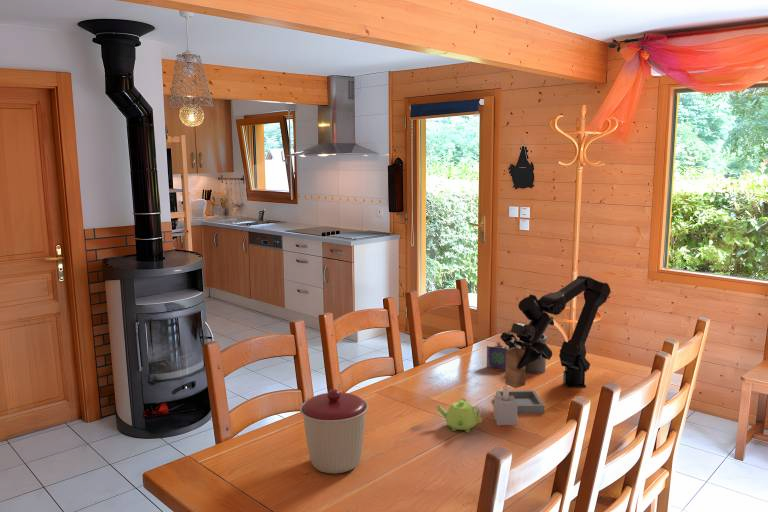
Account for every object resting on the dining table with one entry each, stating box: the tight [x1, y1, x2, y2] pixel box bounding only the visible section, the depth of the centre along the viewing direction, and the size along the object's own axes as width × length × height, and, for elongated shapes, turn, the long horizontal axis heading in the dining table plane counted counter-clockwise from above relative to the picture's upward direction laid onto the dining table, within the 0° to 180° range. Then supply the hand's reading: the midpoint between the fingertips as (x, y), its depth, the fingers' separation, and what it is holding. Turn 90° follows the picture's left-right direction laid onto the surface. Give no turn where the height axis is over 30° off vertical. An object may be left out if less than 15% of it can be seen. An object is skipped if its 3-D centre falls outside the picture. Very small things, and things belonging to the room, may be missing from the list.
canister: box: [299, 388, 369, 475], centre depth 164 cm, size 18×18×21 cm
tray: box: [495, 389, 545, 415], centre depth 202 cm, size 13×13×3 cm
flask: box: [486, 341, 509, 371], centre depth 238 cm, size 9×3×11 cm, turn 65°
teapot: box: [436, 398, 483, 433], centre depth 186 cm, size 11×12×8 cm
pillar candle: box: [520, 333, 548, 375], centre depth 236 cm, size 10×10×15 cm
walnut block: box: [505, 347, 526, 389], centre depth 202 cm, size 4×4×12 cm
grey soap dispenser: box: [493, 385, 518, 426], centre depth 190 cm, size 6×6×11 cm
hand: (512, 366), depth 201 cm, fingers closed on walnut block, 4 cm apart
